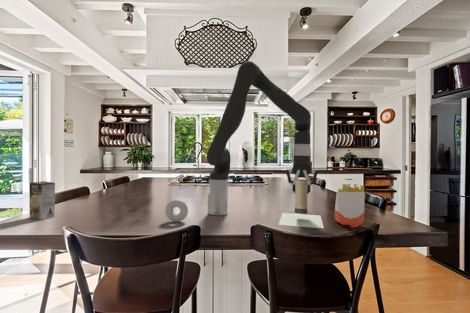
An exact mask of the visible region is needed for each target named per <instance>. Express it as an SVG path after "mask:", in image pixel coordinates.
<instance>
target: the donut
mask: <svg viewBox="0 0 470 313" xmlns="http://www.w3.org/2000/svg"><path fill="white" fill-rule="evenodd" d="M188 207H189V206H188V205H187V203H186V202H184V201H183V200H182V199H178V198H177V199H172V200H170V201H169V202H168V203H167V204H166V206H165V209H164V210H165V211H164V212H165V215H166V217H167V219H169V221H171V222H174V223H178V222H179V223H180V222H182V221H183V220H185V219H186V218H187V216H188V214H189V213H188V212H189V209H188ZM175 208H179V213H175V212H174V209H175Z"/></svg>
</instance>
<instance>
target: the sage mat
mask: <svg viewBox="0 0 470 313" xmlns="http://www.w3.org/2000/svg"><path fill="white" fill-rule="evenodd" d="M278 226H288V227H300V228H312V229H313V228H315V229H324V228H325V227H324V224H323V220H322V217H321V215H317V214H302V213H289V212H282V213H281V215H280V219H279V222H278Z"/></svg>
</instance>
